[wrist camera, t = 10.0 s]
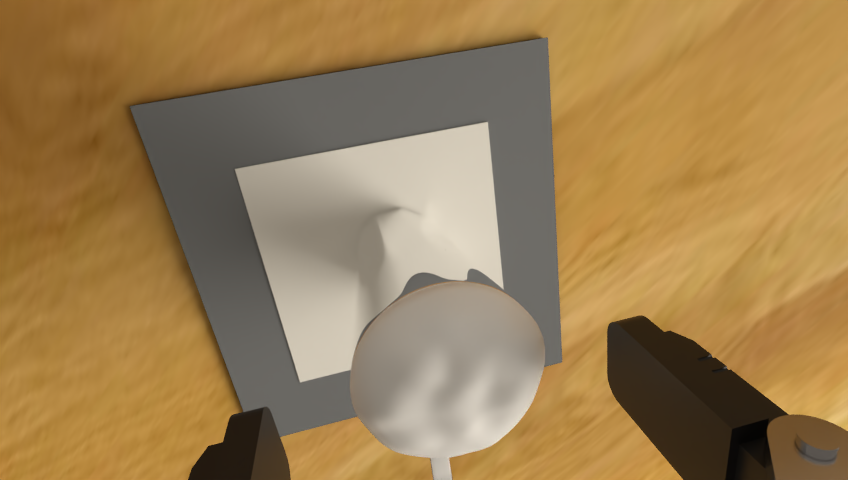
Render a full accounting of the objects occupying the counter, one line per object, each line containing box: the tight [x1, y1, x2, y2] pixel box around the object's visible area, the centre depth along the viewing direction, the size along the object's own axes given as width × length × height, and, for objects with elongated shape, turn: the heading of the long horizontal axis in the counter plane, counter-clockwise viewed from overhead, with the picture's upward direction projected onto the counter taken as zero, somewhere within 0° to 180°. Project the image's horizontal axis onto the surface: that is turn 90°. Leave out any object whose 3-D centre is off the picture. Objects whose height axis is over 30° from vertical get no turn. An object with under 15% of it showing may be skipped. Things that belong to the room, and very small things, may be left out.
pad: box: [130, 38, 562, 437], centre depth 19 cm, size 14×14×1 cm
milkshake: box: [350, 208, 545, 480], centre depth 14 cm, size 4×5×10 cm
